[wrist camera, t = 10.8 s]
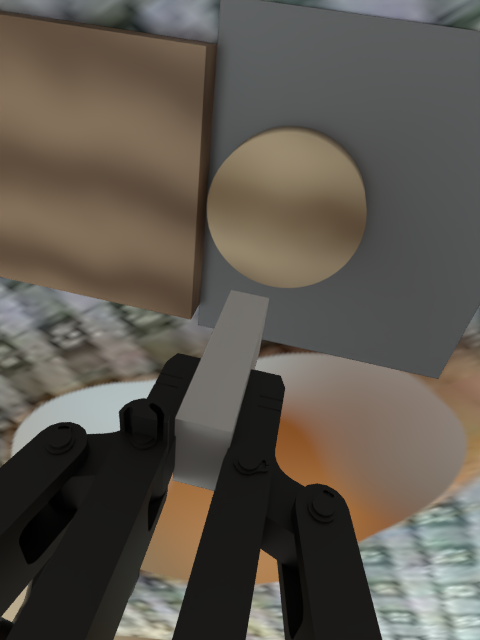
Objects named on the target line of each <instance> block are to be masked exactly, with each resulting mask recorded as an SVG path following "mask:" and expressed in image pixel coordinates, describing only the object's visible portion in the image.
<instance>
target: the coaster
mask: <svg viewBox="0 0 480 640" xmlns="http://www.w3.org/2000/svg"><path fill="white" fill-rule="evenodd" d="M366 215H367V208H366V198H365V188H364V184H363V180H362V176H361V174H360V171H359V169H358V167H357V165H356V164H355V162H354V160H353V159H352V157H351V156H350V155H349V153H348V152H347V151H346V150H345V149H344V148H343V147H342V146H341V145H340V144H339V143H337V142H336V141H335V140H333V139H332V138H330V137H329V136H327V135H325V134H323V133H321V132H318V131H315V130H313V129H310V128H304V127H299V126H283V127H275V128H271V129H267V130H265V131H262V132H260V133H257V134H255V135H254V136H252V137H250V138H248V139H247V140H246V141H244V142H243V143H242V144H240V145H239V146H238V147H237V148H236V149H235V150H234V151H233V153H232V154H231V155H230V156H229V157H228V158H227V159H226V160H225V161H224V163H223V164H222V165H221V167H220V168H219V169H218V171H217V173H216V175H215V177H214V179H213V181H212V184H211V187H210V190H209V194H208V200H207V219H208V225H209V229H210V232H211V236H212V238H213V240H214V243H215V245H216V246H217V248H218V250H219V251H220V253H221V254H222V256H223V257H224V258H225V259H226V261H227V262H228V263H229V264H230V265H231V266H232V267H233V268H235V269H236V270H237V271H238V272H240V273H241V274H243V275H244V276H246V277H247V278H249V279H252V280H254V281H256V282H258V283H261V284H264V285H268V286H272V287H279V288H297V287H304V286H308V285H312V284H315V283H318V282H320V281H322V280H324V279H326V278H328V277H330V276H332V275H333V274H335V273H336V272H337V271H339V270H340V269H341V268H342V267H343V266H344V265H345V264H346V263H347V262H348V261H349V260H350V259H351V257H352V256H353V254H354V253H355V251H356V250H357V248H358V246H359V244H360V242H361V239H362V236H363V233H364V230H365V225H366Z"/></svg>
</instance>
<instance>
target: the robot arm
mask: <svg viewBox="0 0 480 640" xmlns="http://www.w3.org/2000/svg"><path fill="white" fill-rule="evenodd" d="M268 303H269V298H267V297H262V296H257V295H252V294H248V293H243V292H238V291H233V290H231V291H230V294H229V296H228V298H227V301H226V303H225V305H224V307H223V310H222V312H221V314H220V317H219V319H218V321H217V323H216V326H215V328H214V330H213V333H212V335H211V337H210V340H209V342H208V344H207V346H206V349H205V351H204V353H203V356H202V358H196V357H192V356H188V355H183V354H179V353H177V354H176V355H175V356H173V357H172V358H171V359H169V360H168V361H167V362H166V364H165V366H164V367H163V369H162V371H161V374H160V375H159V377H158V379H157V381H156V383H155V384H154V386H153V388H152V390H151V392H150V394H149V396H148V397H147V399H145V398H143V399H138V400H133V401H131V402H129V403H128V404H126V405H124V407H123V408H122V409H121V410H120V411H119V418H120V431H117V432H113V433H104V434H86V431H85V429H84V428H82V427H81V426H80V425H78V424H75V423H72V422H61V423H57V424H54V425H51V426H49V427H47V428H46V429H45V430H43V431H41V432H40V433H39V434H38V435H37V436H36V437H35V438H33V439H32V440H31V441H30V442H29V443H28V444H27V445H25V446H24V447H23V448H22V449H21V450H20V451H19V452H17V453H16V454H15V455H14V456H13V457H12V458H11V459H10V460H8V461H7V462H6V463H5V464H4V465H3V466H2V467H0V640H113V639H114V636H115V634H116V631H117V628H118V626H119V623H120V621H121V618H122V615H123V613H124V610H125V607H126V605H127V602H128V599H129V598H130V596H131V595H132V593H133V591H134V588H135V585H136V583H137V580H138V577H139V570H140V567H141V565H142V562H143V559H144V557H145V554H146V551H147V549H148V546H149V543H150V541H151V538H152V535H153V533H154V530H155V527H156V525H157V522H158V519H159V517H160V514H161V511H162V509H163V506H164V503H165V501H166V497H167V491H168V484H169V481H170V479H171V476H172V473H173V480H174V481H178V482H182V483H185V484H190V485H193V486H197V487H201V488H205V489H209V490H212V491H214V494H213V497H212V501H211V504H210V508H209V511H208V515H207V518H206V522H205V525H204V529H203V533H202V536H201V539H200V543H199V547H198V550H197V554H196V557H195V561H194V564H193V568H192V571H191V575H190V578H189V582H188V585H187V589H186V592H185V596H184V599H183V603H182V606H181V610H180V613H179V617H178V620H177V624H176V627H175V631H174V635H173V638H172V640H246V634H247V628H248V622H249V615H250V609H251V603H252V597H253V591H254V585H255V579H256V572H257V566H258V560H259V554H260V549H262V550H263V551H265V552H266V553H268V554H269V555H271V556H272V557H273V558H275V559H276V560H277V564H278V574H279V584H280V594H281V604H282V614H283V624H284V634H285V640H382V637H381V633H380V629H379V625H378V621H377V617H376V613H375V610H374V606H373V602H372V598H371V594H370V590H369V586H368V582H367V578H366V574H365V571H364V567H363V563H362V559H361V555H360V551H359V547H358V543H357V539H356V536H355V532H354V528H353V524H352V520H351V516H350V512H349V509H348V506H347V504H346V502H345V500H344V498H343V497H342V496H341V495H340V494H339V493H338V492H337V491H336V490H334V489H332V488H330V487H328V486H327V485H322V484H311V485H307V486H306V487H304V486H303V485H301V484H299V483H298V482H296V481H294V480H292V479H291V478H290V477H288V476H287V475H286V474H285V473H284V472H283V471H282V470H281V469H280V467H279V465H278V463H277V461H276V457H275V447H276V441H277V435H278V429H279V423H280V416H281V410H282V404H283V398H284V391H285V386H284V384H283V381H282V378H281V376H279V375H275V374H270V373H266V372H262V371H258V370H255V366H256V362H257V358H258V355H259V350H260V345H261V340H262V334H263V329H264V324H265V319H266V313H267V308H268ZM28 584H29V585H28ZM27 585H28V589H27V592H26V596H25V599H24V602H23V604H22V606H21V607H20V609H19V611H18V613H17V615H16V616H15V618H14V620H13V621H12V622H10V621H8V620H6V619H4V618H2V617H1V616H2V615H3V614H4V613H5V611H6V610H7V609H8V608H9V607H10V605H11V604H12V603H13V602H14V601H15V599H16V598H17V597H18V596H19V595H20V593H21V592H22V591H23V590H24V589H25V587H26V586H27Z"/></svg>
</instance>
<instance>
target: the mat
mask: <svg viewBox="0 0 480 640" xmlns="http://www.w3.org/2000/svg"><path fill="white" fill-rule="evenodd" d="M283 126H299V127H304V128H310V129H313V130H315V131H318V132H321V133H323V134H325V135H327V136H329V137H330V138H332V139H333V140H335V141H336V142H337V143H339V144H340V145H341V146H342V147H343V148H344V149H345V150H346V151H347V152H348V153H349V155H350V156H351V157H352V159H353V160H354V162H355V164H356V165H357V167H358V169H359V171H360V174H361V176H362V180H363V184H364V188H365V198H366V208H367V215H366V225H365V230H364V233H363V236H362V239H361V242H360V244H359V246H358V248H357V250H356V251H355V253H354V254H353V256H352V257H351V259H350V260H349V261H348V262H347V263H346V264H345V265H344V266H343V267H342V268H341V269H340V270H339V271H337V272H336V273H335V274H333V275H332V276H330V277H328V278H326V279H324V280H322V281H320V282H318V283H315V284H312V285H308V286H304V287H297V288H279V287H272V286H268V285H264V284H261V283H258V282H256V281H254V280H252V279H249V278H247V277H246V276H244V275H243V274H241V273H240V272H238V271H237V270H236V269H235V268H233V267H232V266H231V265H230V264H229V263H228V262H227V261H226V259H225V258H224V257H223V256H222V254H221V253H220V251H219V250H218V248H217V246H216V245H215V243H214V240H213V238H212V236H211V232H210V229H209V225H208V219H207V203H206V217H205V232H204V246H203V261H202V275H201V289H200V304H199V318H198V325H201V326H206V327H210V328H215V326H216V323H217V321H218V319H219V317H220V314H221V312H222V310H223V307H224V305H225V303H226V301H227V298H228V296H229V294H230V291H231V290H233V291H238V292H243V293H248V294H252V295H257V296H262V297H267V298H269V303H268V308H267V313H266V319H265V324H264V329H263V334H262V339H263V340H268V341H272V342H276V343H281V344H285V345H290V346H294V347H299V348H303V349H307V350H312V351H316V352H321V353H325V354H330V355H334V356H338V357H343V358H347V359H352V360H356V361H361V362H365V363H370V364H374V365H379V366H383V367H387V368H392V369H396V370H401V371H405V372H409V373H414V374H418V375H423V376H427V377H432V378H436V379H438V378H439V376H440V374H441V373H442V371H443V369H444V367H445V366H446V364H447V362H448V360H449V358H450V357H451V355H452V353H453V351H454V349H455V348H456V346H457V344H458V342H459V341H460V339H461V337H462V335H463V333H464V332H465V330H466V328H467V326H468V324H469V323H470V321H471V319H472V317H473V316H474V314H475V312H476V310H477V308H478V307H479V305H480V31H474V30H467V29H460V28H453V27H446V26H438V25H431V24H424V23H417V22H410V21H403V20H396V19H389V18H382V17H375V16H368V15H360V14H353V13H346V12H339V11H332V10H325V9H318V8H311V7H304V6H297V5H290V4H282V3H275V2H268V1H261V0H221V1H220V15H219V30H218V44H217V58H216V73H215V87H214V102H213V116H212V131H211V145H210V160H209V174H208V188H207V200H208V194H209V190H210V187H211V184H212V181H213V179H214V177H215V175H216V173H217V171H218V169H219V168H220V167H221V165H222V164H223V163H224V161H225V160H226V159H227V158H228V157H229V156H230V155H231V154H232V153H233V151H234V150H235V149H236V148H237V147H238V146H239V145H240V144H242V143H243V142H244V141H246V140H247V139H248V138H250V137H252V136H254V135H255V134H257V133H260V132H262V131H265V130H267V129H271V128H275V127H283Z"/></svg>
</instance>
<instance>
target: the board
mask: <svg viewBox="0 0 480 640" xmlns="http://www.w3.org/2000/svg"><path fill="white" fill-rule="evenodd" d="M216 58H217V44H214V43H207V42H201V41H194V40H188V39H181V38H175V37H168V36H162V35H155V34H149V33H142V32H136V31H129V30H123V29H116V28H110V27H103V26H97V25H90V24H84V23H77V22H71V21H64V20H58V19H51V18H45V17H38V16H32V15H25V14H19V13H12V12H6V11H0V277H4V278H8V279H13V280H17V281H22V282H26V283H31V284H35V285H40V286H44V287H48V288H53V289H57V290H62V291H66V292H71V293H75V294H80V295H84V296H89V297H93V298H97V299H102V300H106V301H111V302H115V303H120V304H124V305H129V306H133V307H138V308H142V309H146V310H151V311H155V312H160V313H164V314H169V315H173V316H178V317H182V318H186V319H191V318H192V316H193V315H194V313H195V311H196V309H197V307H198V305H199V303H200V289H201V275H202V261H203V246H204V232H205V217H206V203H207V188H208V174H209V160H210V145H211V131H212V116H213V102H214V87H215V73H216Z"/></svg>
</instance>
